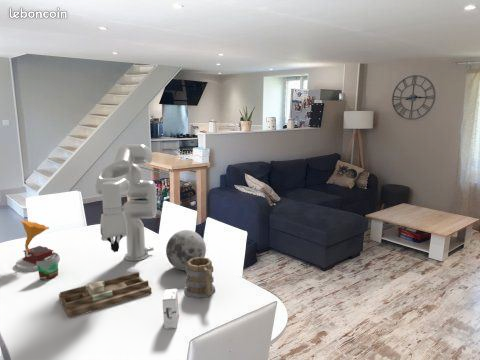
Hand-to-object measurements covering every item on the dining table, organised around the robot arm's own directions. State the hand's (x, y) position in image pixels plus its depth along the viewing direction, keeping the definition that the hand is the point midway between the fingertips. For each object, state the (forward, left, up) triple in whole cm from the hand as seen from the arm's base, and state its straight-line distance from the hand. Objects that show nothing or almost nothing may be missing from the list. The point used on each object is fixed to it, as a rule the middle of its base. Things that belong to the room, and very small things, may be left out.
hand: (115, 250), depth 160 cm
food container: (+21, -34, -19) cm, 44 cm away
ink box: (-8, +36, -20) cm, 42 cm away
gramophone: (+23, -56, -20) cm, 64 cm away
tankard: (-29, +24, -20) cm, 43 cm away
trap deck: (+5, +1, -19) cm, 20 cm away
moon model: (-37, -4, -19) cm, 42 cm away
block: (+9, +1, -17) cm, 19 cm away
